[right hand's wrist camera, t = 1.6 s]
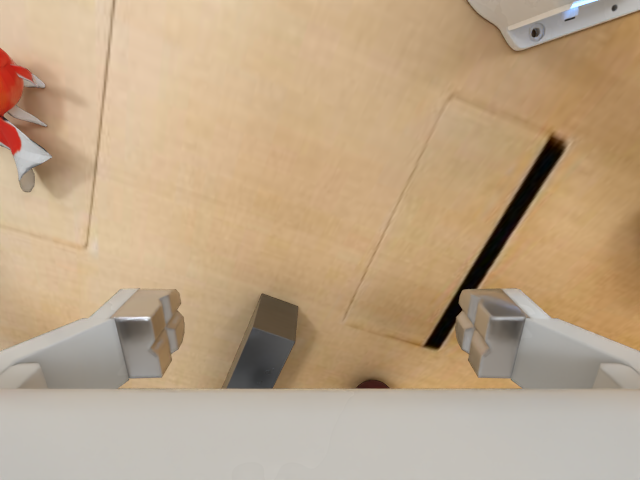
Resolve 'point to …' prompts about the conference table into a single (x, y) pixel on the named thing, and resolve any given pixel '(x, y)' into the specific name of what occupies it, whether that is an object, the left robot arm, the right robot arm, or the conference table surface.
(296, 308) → the bar
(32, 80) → the fish
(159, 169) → the conference table surface
